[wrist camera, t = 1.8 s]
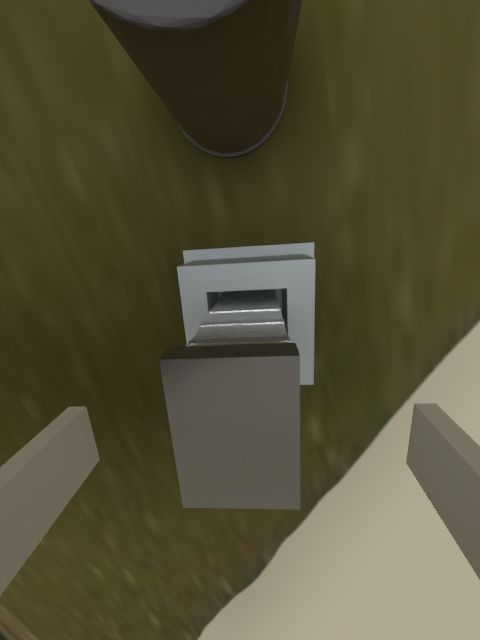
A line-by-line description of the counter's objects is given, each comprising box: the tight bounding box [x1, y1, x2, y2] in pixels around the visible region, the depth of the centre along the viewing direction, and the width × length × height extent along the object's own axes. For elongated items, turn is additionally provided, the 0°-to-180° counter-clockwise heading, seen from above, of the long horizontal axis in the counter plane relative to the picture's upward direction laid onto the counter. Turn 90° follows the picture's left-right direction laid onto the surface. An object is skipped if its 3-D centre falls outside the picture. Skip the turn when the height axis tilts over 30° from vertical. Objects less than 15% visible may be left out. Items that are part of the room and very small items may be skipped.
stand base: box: [177, 242, 315, 385], centre depth 26 cm, size 13×13×9 cm
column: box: [159, 289, 300, 509], centre depth 20 cm, size 5×7×19 cm
